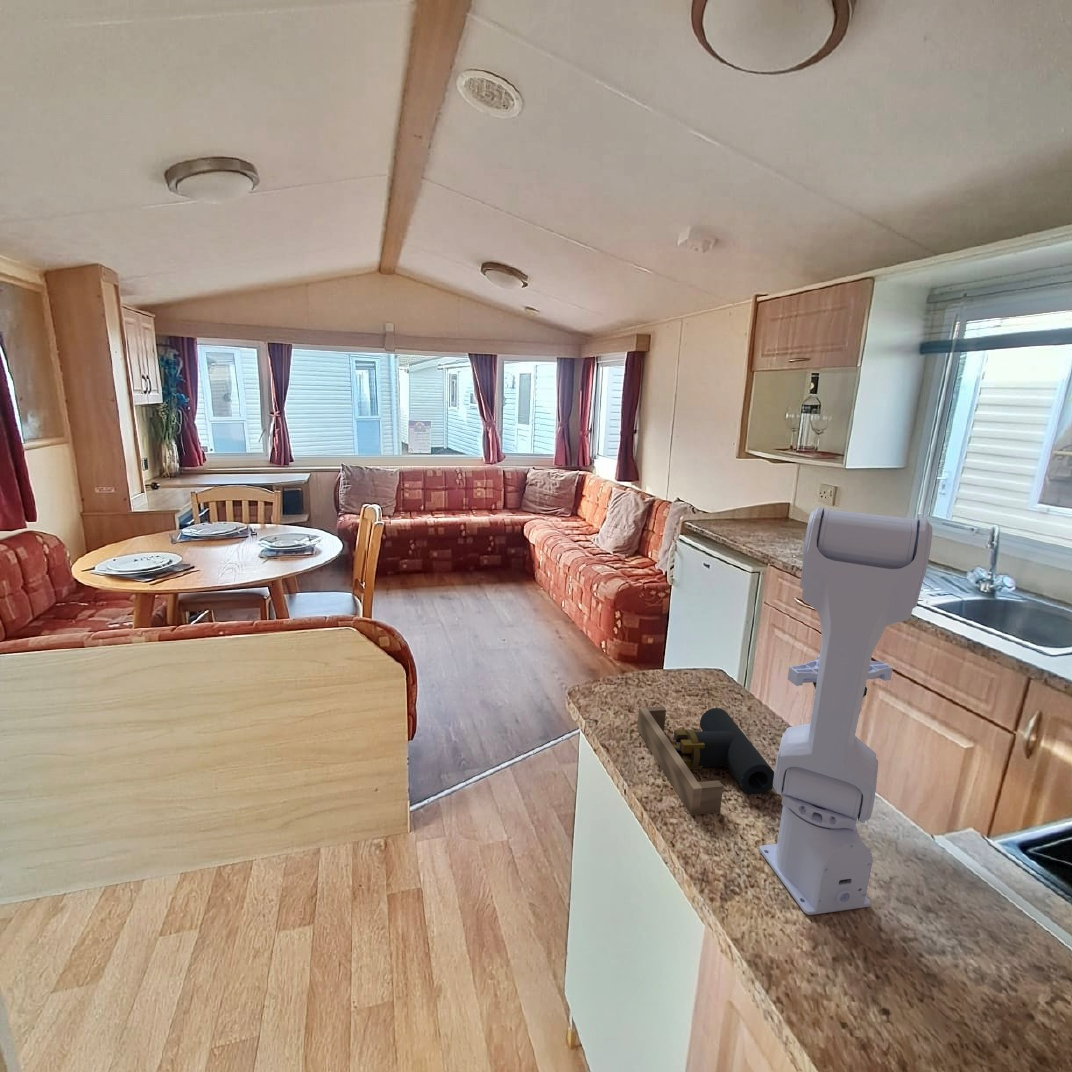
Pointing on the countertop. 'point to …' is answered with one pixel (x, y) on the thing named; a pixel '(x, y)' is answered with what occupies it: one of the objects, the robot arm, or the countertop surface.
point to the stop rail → (677, 765)
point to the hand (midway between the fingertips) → (831, 727)
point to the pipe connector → (724, 751)
